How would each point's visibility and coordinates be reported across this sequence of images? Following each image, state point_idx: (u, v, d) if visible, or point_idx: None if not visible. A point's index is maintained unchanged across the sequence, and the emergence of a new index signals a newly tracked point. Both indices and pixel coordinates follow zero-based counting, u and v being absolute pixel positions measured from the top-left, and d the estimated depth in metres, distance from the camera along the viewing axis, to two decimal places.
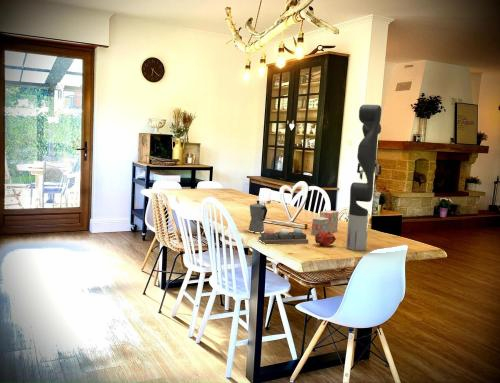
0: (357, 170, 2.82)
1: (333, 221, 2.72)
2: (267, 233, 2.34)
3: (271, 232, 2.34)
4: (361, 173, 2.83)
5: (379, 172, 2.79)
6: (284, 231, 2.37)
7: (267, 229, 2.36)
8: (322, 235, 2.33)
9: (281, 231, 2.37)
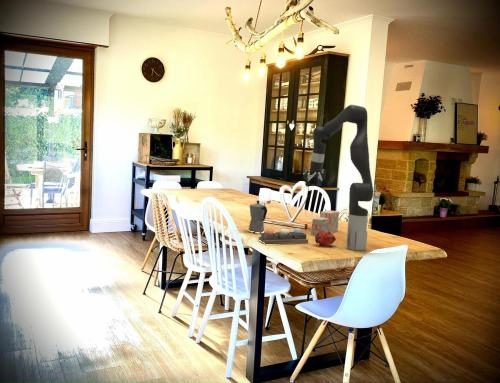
0: (306, 177, 2.74)
1: (333, 221, 2.72)
2: (267, 233, 2.34)
3: (271, 232, 2.34)
4: None
5: (323, 177, 2.80)
6: (284, 231, 2.37)
7: (267, 229, 2.36)
8: (322, 235, 2.33)
9: (281, 231, 2.37)
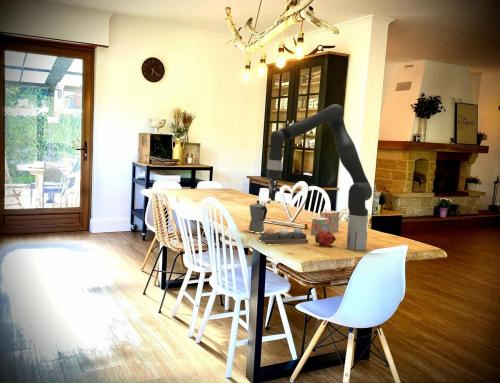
0: (276, 189, 2.37)
1: (333, 221, 2.72)
2: (267, 233, 2.34)
3: (271, 232, 2.34)
4: (275, 192, 2.40)
5: None
6: (284, 231, 2.37)
7: (267, 229, 2.36)
8: (322, 235, 2.33)
9: (281, 231, 2.37)
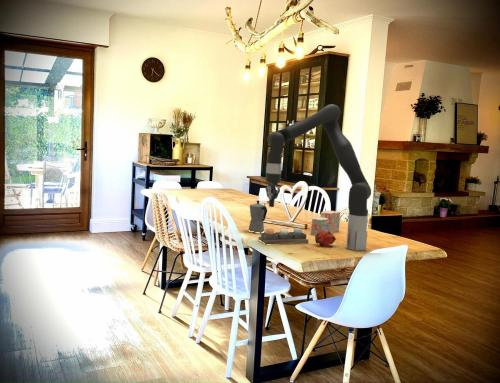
0: (277, 196, 2.31)
1: (334, 221, 2.71)
2: (267, 233, 2.34)
3: (271, 232, 2.34)
4: None
5: None
6: (284, 231, 2.37)
7: (267, 229, 2.36)
8: (322, 235, 2.33)
9: (281, 231, 2.37)
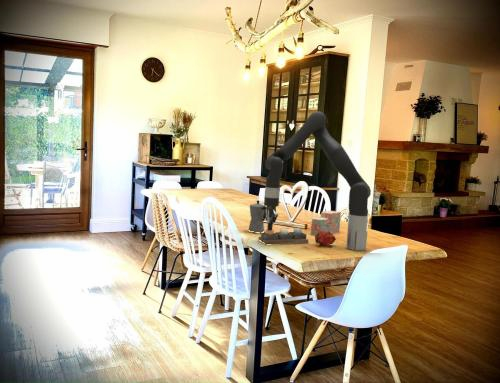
0: (275, 220, 2.32)
1: (334, 221, 2.71)
2: (267, 233, 2.34)
3: (271, 232, 2.34)
4: None
5: None
6: (284, 231, 2.37)
7: None
8: (322, 235, 2.33)
9: (281, 231, 2.37)
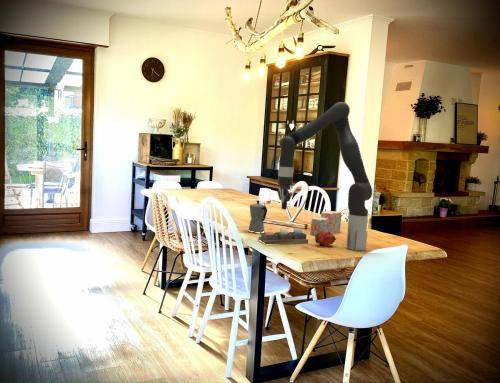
0: (289, 199, 2.36)
1: (334, 221, 2.70)
2: None
3: None
4: None
5: None
6: (284, 231, 2.37)
7: (267, 232, 2.36)
8: (322, 235, 2.33)
9: (281, 231, 2.37)
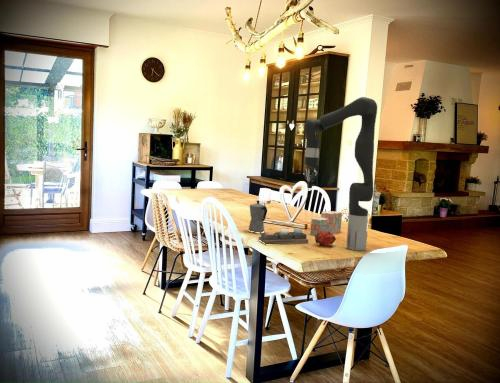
0: (315, 178, 2.51)
1: (334, 222, 2.69)
2: None
3: None
4: None
5: None
6: (284, 231, 2.37)
7: (267, 232, 2.36)
8: (322, 235, 2.33)
9: (281, 231, 2.37)
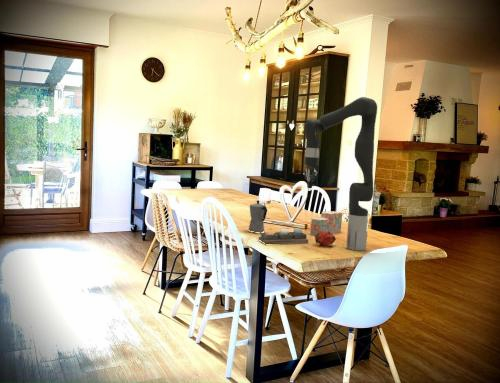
0: (315, 178, 2.51)
1: (335, 222, 2.69)
2: None
3: None
4: None
5: None
6: (284, 231, 2.37)
7: (267, 232, 2.36)
8: (322, 235, 2.33)
9: (281, 231, 2.37)
